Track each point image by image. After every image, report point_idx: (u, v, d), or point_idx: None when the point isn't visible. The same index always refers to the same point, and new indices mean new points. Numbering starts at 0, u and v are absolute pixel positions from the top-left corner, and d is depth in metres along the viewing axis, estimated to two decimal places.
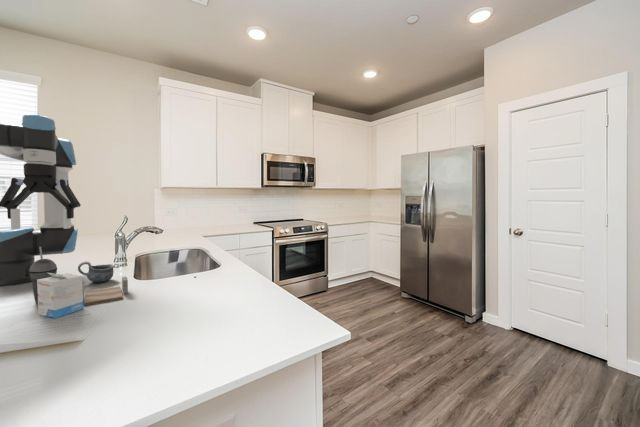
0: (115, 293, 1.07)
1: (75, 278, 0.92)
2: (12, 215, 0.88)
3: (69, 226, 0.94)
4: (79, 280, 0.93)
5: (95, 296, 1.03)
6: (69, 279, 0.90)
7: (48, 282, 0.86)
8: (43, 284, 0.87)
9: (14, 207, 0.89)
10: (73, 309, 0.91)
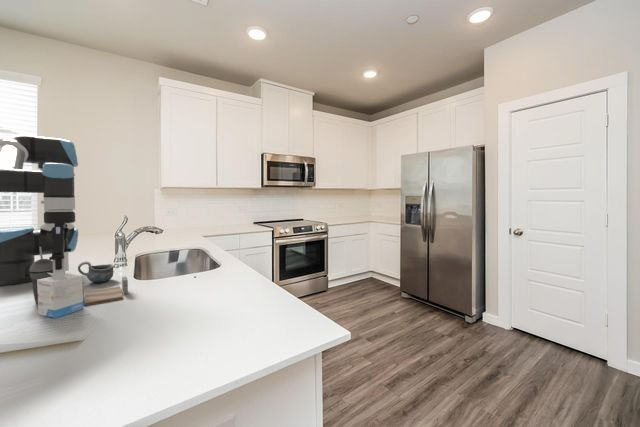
0: (115, 293, 1.07)
1: (75, 278, 0.92)
2: None
3: (61, 277, 0.86)
4: (79, 280, 0.93)
5: (95, 296, 1.03)
6: (69, 279, 0.90)
7: (48, 282, 0.86)
8: (43, 284, 0.87)
9: (64, 250, 0.97)
10: (73, 309, 0.91)
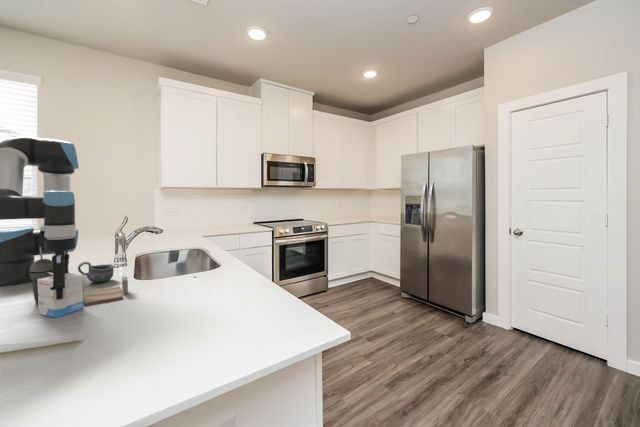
0: (115, 293, 1.07)
1: (75, 278, 0.92)
2: None
3: (62, 306, 0.87)
4: (79, 280, 0.93)
5: (95, 296, 1.03)
6: (69, 279, 0.90)
7: (48, 282, 0.87)
8: (44, 283, 0.88)
9: None
10: (73, 309, 0.91)
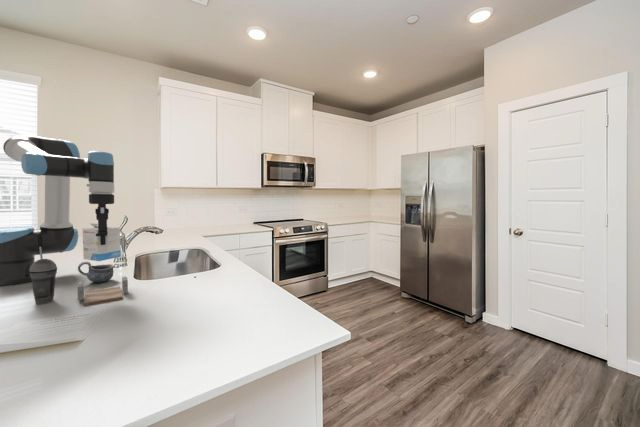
0: (115, 293, 1.07)
1: (114, 229, 1.05)
2: None
3: (104, 251, 1.00)
4: (117, 231, 1.06)
5: (95, 296, 1.03)
6: (109, 229, 1.03)
7: (93, 230, 1.00)
8: (88, 232, 1.01)
9: None
10: (113, 256, 1.05)
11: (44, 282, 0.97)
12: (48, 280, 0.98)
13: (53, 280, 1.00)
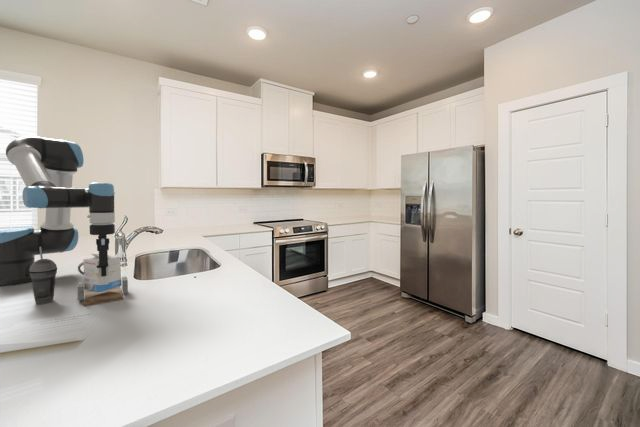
0: (115, 293, 1.07)
1: (115, 258, 1.06)
2: None
3: (105, 282, 1.01)
4: (118, 260, 1.07)
5: (95, 296, 1.03)
6: (110, 259, 1.04)
7: (94, 261, 1.01)
8: (89, 263, 1.01)
9: None
10: (114, 285, 1.05)
11: (44, 282, 0.97)
12: (48, 280, 0.98)
13: (53, 280, 1.00)
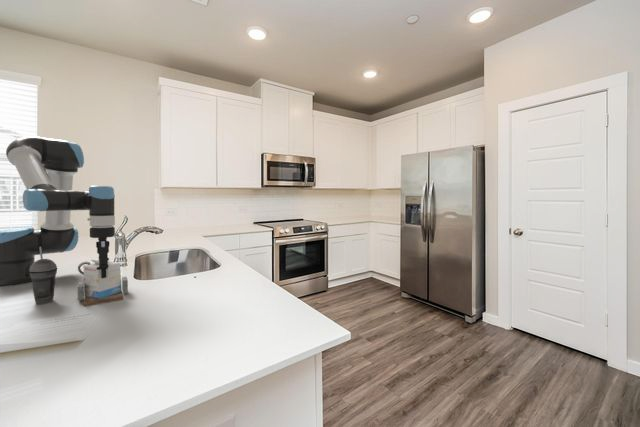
0: None
1: (115, 265, 1.06)
2: None
3: (105, 284, 1.00)
4: (118, 267, 1.07)
5: None
6: (110, 265, 1.04)
7: (94, 267, 1.01)
8: (89, 269, 1.02)
9: None
10: (113, 292, 1.06)
11: (44, 282, 0.97)
12: (48, 280, 0.98)
13: (53, 280, 1.00)
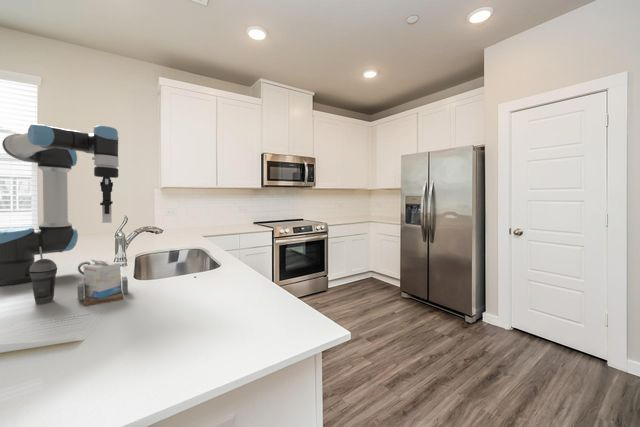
0: None
1: (115, 265, 1.06)
2: None
3: (108, 221, 1.04)
4: (118, 267, 1.07)
5: None
6: (110, 265, 1.04)
7: (94, 267, 1.01)
8: (89, 269, 1.02)
9: None
10: (113, 292, 1.06)
11: (44, 282, 0.97)
12: (48, 280, 0.98)
13: (53, 280, 1.00)
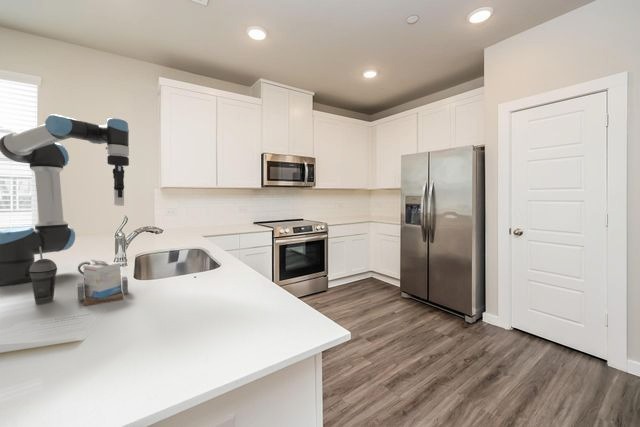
0: None
1: (115, 265, 1.06)
2: (114, 194, 1.25)
3: (121, 204, 1.15)
4: (118, 267, 1.07)
5: None
6: (110, 265, 1.04)
7: (94, 267, 1.01)
8: (89, 269, 1.02)
9: None
10: (113, 292, 1.06)
11: (44, 282, 0.97)
12: (48, 280, 0.98)
13: (53, 280, 1.00)
